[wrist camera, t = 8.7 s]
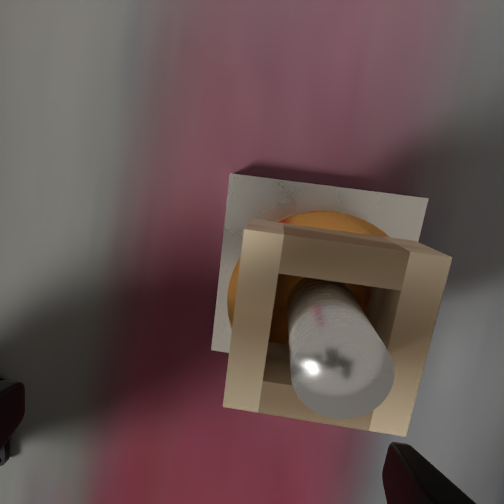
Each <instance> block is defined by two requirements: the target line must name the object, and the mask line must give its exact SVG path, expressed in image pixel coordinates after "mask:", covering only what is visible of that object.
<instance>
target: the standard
mask: <svg viewBox="0 0 504 504" xmlns="http://www.w3.org/2000/svg"><path fill="white" fill-rule="evenodd" d="M428 199H429V198H422V197H414V196H406V195H398V194H390V193H382V192H374V191H366V190H358V189H350V188H342V187H335V186H327V185H319V184H311V183H303V182H295V181H287V180H279V179H271V178H263V177H255V176H248V175H240V174H232V173H230V177H229V187H228V196H227V206H226V215H225V225H224V234H223V243H222V253H221V262H220V272H219V281H218V290H217V300H216V309H215V319H214V328H213V337H212V347H211V350H213V351H220V352H226V353H229V351H230V342H231V334H232V326H233V317H234V309H235V300H236V292H237V284H238V275H239V267H240V259H241V250H242V242H243V234H244V229H245V227H246V226H247V224H248V223H249V222H250V220H251V219H256V220H264V221H271V222H279V223H286V224H294V225H301V226H309V227H316V228H324V229H331V230H339V231H346V232H354V233H361V234H369V235H376V236H384V237H391V238H399V239H406V240H414V241H417V242H418V241H419V237H420V233H421V229H422V224H423V220H424V216H425V212H426V207H427V203H428ZM371 287H372V286H364V285H357V284H350V283H343V282H336V281H329V280H322V279H315V278H308V277H301V276H294V275H287V274H280V273H278V279H277V286H276V293H275V300H274V307H273V313H272V320H271V327H270V334H269V341H268V342H273V343H280V344H286V345H289V349H290V367H291V380H292V385H293V387H294V390H295V392H296V394H297V396H298V397H299V399H300V400H301V401H302V402H303V403H304V404H305V405H306V406H307V407H308V408H309V409H311V410H313V411H314V412H316V413H318V414H320V415H323V416H326V417H330V418H335V419H350V418H355V417H359V416H362V415H365V414H367V413H369V412H371V411H373V410H374V409H376V408H377V407H378V406H379V405H380V404H381V403H382V402H383V401H384V400H385V399H386V397H387V396H388V394H389V393H390V391H391V389H392V386H393V382H394V375H395V370H394V363H393V360H392V357H391V355H390V353H389V351H388V350H387V348H386V347H385V345H384V343H383V342H382V340H381V339H380V337H379V336H378V334H377V332H376V331H375V329H374V328H373V326H372V325H371V323H370V321H369V320H368V318H367V317H366V310H367V305H368V301H369V296H370V291H371Z"/></svg>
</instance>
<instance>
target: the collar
mask: <svg viewBox="0 0 504 504" xmlns="http://www.w3.org/2000/svg"><path fill="white" fill-rule="evenodd" d="M452 258H453V257H450V256H448V255H446V254H444V253H441V252H439V251H437V250H435V249H433V248H430V247H428V246H426V245H424V244H421V243H419V242H417V241H414V240H406V239H399V238H391V237H384V236H376V235H369V234H361V233H354V232H346V231H339V230H331V229H324V228H316V227H309V226H301V225H294V224H286V223H279V222H271V221H264V220H256V219H251V220H250V222H249V223H248V224H247V226H246V227H245V229H244V234H243V242H242V250H241V259H240V267H239V275H238V284H237V292H236V300H235V309H234V317H233V326H232V334H231V342H230V351H229V359H228V367H227V376H226V384H225V393H224V401H223V407H227V408H234V409H240V410H246V411H252V412H258V413H264V414H270V415H276V416H282V417H288V418H295V419H301V420H307V421H313V422H319V423H325V424H331V425H337V426H343V427H350V428H356V429H362V430H368V431H374V432H380V433H386V434H392V435H398V436H404V437H406V434H407V430H408V426H409V422H410V418H411V415H412V411H413V407H414V403H415V399H416V395H417V392H418V388H419V384H420V380H421V376H422V372H423V369H424V365H425V361H426V357H427V353H428V349H429V346H430V342H431V338H432V334H433V330H434V327H435V323H436V319H437V315H438V311H439V307H440V304H441V300H442V296H443V292H444V288H445V284H446V281H447V277H448V273H449V269H450V265H451V261H452ZM278 273H280V274H287V275H294V276H301V277H308V278H315V279H322V280H329V281H336V282H343V283H350V284H357V285H364V286H372V287H371V291H370V296H369V301H368V305H367V310H366V317H367V318H368V320H369V321H370V323H371V325H372V326H373V328H374V329H375V331H376V332H377V334H378V336H379V337H380V339H381V340H382V342H383V343H384V345H385V347H386V348H387V350H388V351H389V353H390V355H391V357H392V360H393V363H394V370H395V375H394V382H393V386H392V389H391V391H390V393H389V394H388V396H387V397H386V399H385V400H384V401H383V402H382V403H381V404H380V405H379V406H378V407H377V408H376V409H374V410H373V411H371V412H369V413H367V414H365V415H362V416H359V417H355V418H350V419H335V418H330V417H326V416H323V415H320V414H318V413H316V412H314V411H313V410H311V409H309V408H308V407H307V406H306V405H305V404H304V403H303V402H302V401H301V400H300V399H299V397H298V396H297V394H296V392H295V390H294V387H293V385H292V380H291V367H290V349H289V345H286V344H280V343H273V342H268V341H269V334H270V327H271V320H272V313H273V307H274V300H275V293H276V286H277V279H278Z"/></svg>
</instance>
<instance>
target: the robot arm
mask: <svg viewBox="0 0 504 504" xmlns="http://www.w3.org/2000/svg"><path fill="white" fill-rule="evenodd" d="M24 412H25V388H24V385H23V383H21V382H18V381H12V380H3V379H1V378H0V466H2V465H4V464H5V463H6V462H7V460H8V459H9V457H10V453H9V438H10V436H11V435H12V434H13V432H14V431H15V429H16V428H17V427H18V425H19V424H20V422H21V421H22V419H23V416H24ZM382 478H383V485H384V490H385V495H386V500H387V504H476V503H475V502H474V501H473V500H471V499H470V498H469V497H468V496H467V495H466V494H465V493H463V492H462V491H461V490H460V489H459V488H458V487H457V486H456V485H454V484H453V483H452V482H451V481H450V480H449V479H448V478H447V477H445V476H444V475H443V474H442V473H441V472H440V471H439V470H438V469H436V468H435V467H434V466H433V465H432V464H431V463H430V462H428V461H427V460H426V459H425V458H424V457H423V456H422V455H421V454H419V453H418V452H417V451H416V450H415V449H414V448H413V447H411V446H410V445H408V444H404V443H398V442H392V443H391V444H390V445H389V448H388V451H387V455H386V459H385V463H384V467H383V473H382Z"/></svg>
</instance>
